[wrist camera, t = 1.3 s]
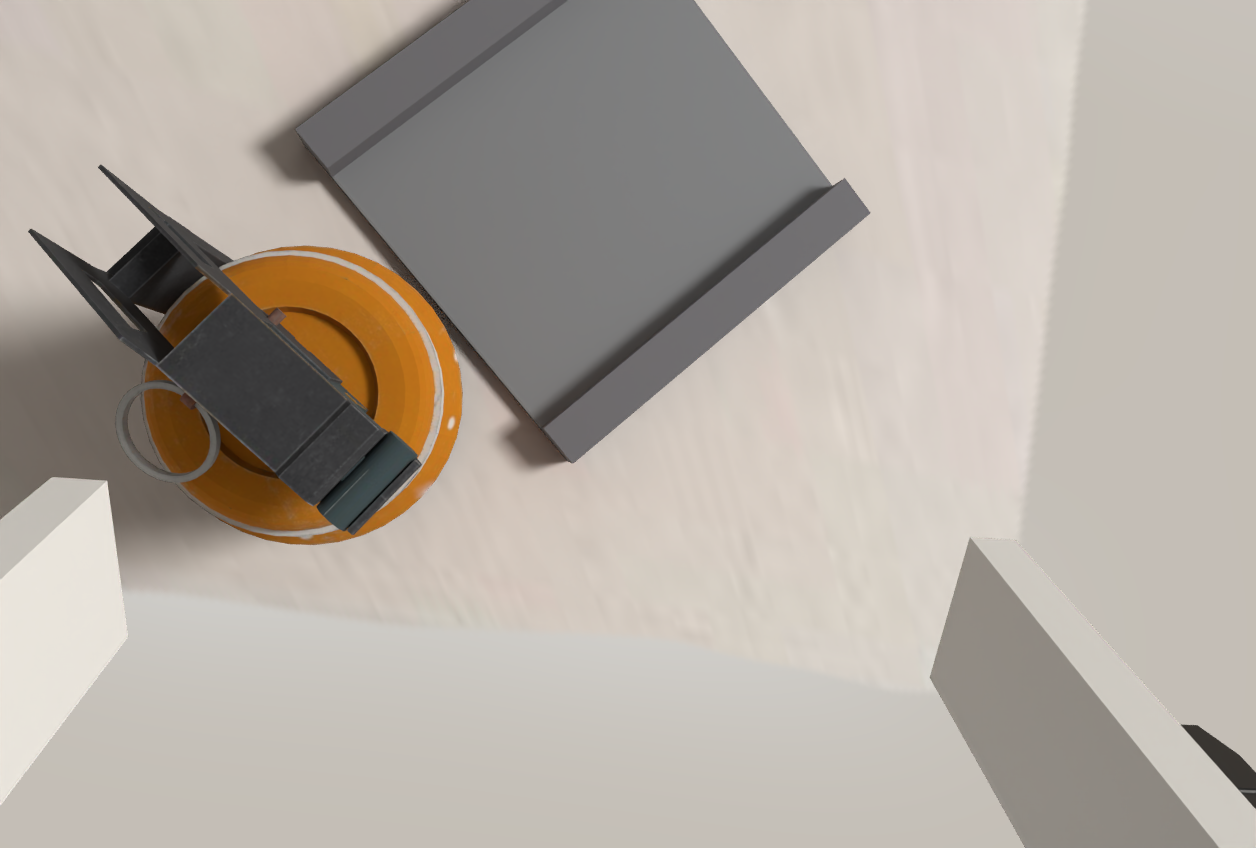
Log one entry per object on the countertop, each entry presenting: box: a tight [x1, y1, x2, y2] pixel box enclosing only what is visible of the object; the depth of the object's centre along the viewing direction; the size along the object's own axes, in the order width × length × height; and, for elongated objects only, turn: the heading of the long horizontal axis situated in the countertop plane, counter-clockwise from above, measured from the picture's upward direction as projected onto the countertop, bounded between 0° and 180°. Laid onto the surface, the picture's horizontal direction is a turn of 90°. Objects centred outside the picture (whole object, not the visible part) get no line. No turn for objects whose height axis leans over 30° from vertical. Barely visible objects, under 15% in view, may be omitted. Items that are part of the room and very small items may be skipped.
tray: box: [295, 0, 870, 463], centre depth 40 cm, size 18×18×2 cm
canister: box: [28, 165, 463, 545], centre depth 29 cm, size 9×11×20 cm
